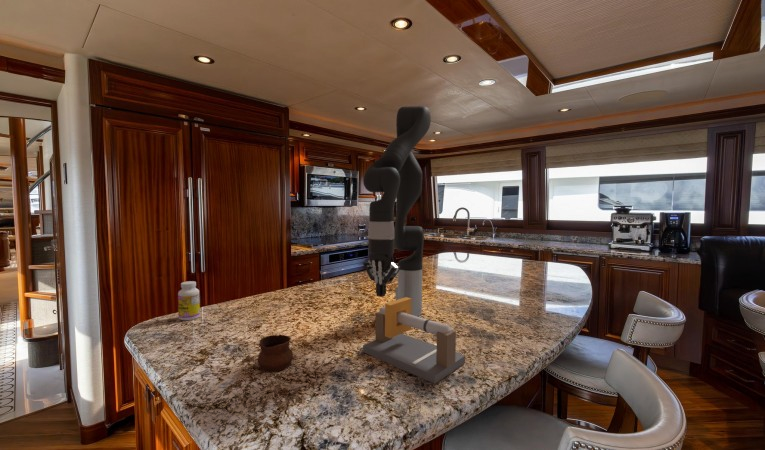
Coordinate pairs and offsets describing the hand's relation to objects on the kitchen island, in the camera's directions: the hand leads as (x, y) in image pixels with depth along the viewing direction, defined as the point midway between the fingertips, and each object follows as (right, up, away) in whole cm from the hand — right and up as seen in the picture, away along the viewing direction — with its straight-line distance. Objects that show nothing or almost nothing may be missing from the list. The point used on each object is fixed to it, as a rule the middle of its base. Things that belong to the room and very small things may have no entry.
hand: (381, 296), depth 97 cm
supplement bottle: (-69, -13, +23) cm, 74 cm away
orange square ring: (+5, -9, -4) cm, 11 cm away
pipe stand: (+9, -15, -7) cm, 19 cm away
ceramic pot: (-27, -16, -11) cm, 33 cm away
